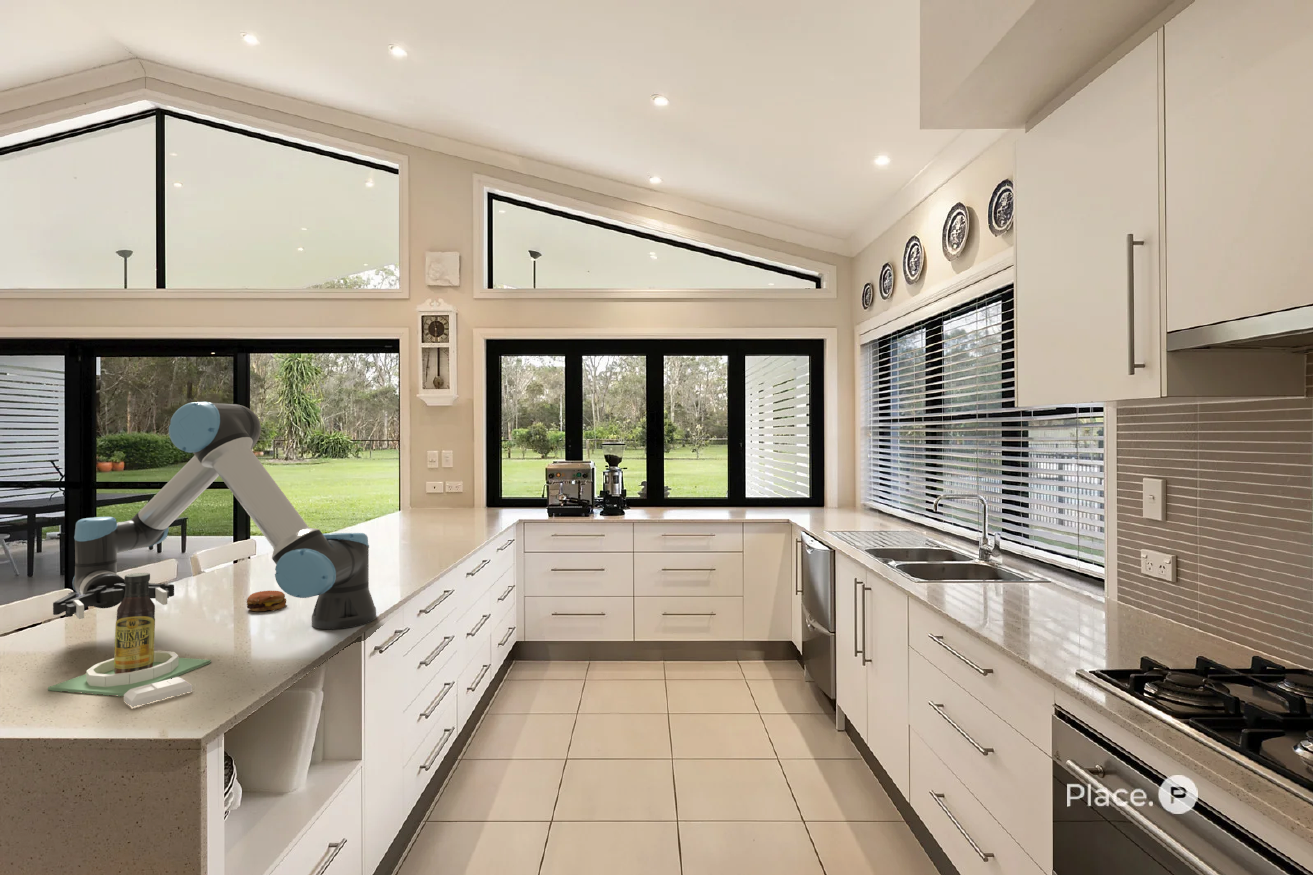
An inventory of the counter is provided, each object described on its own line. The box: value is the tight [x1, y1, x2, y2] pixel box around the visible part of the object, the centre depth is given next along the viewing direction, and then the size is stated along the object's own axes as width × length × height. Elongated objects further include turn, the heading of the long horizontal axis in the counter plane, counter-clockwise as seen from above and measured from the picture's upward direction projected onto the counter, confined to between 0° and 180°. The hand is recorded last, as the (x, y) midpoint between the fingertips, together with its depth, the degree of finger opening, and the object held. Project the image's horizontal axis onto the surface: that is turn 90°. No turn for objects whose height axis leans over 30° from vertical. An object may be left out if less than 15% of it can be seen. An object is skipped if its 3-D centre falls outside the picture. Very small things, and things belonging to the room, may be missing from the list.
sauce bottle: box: [113, 572, 156, 674], centre depth 129 cm, size 7×6×20 cm
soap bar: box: [123, 676, 193, 707], centre depth 118 cm, size 5×9×3 cm, turn 143°
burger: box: [246, 590, 287, 612], centre depth 179 cm, size 10×9×5 cm
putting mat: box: [47, 650, 212, 697], centre depth 129 cm, size 18×18×3 cm
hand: (125, 604), depth 133 cm, fingers open, 13 cm apart
